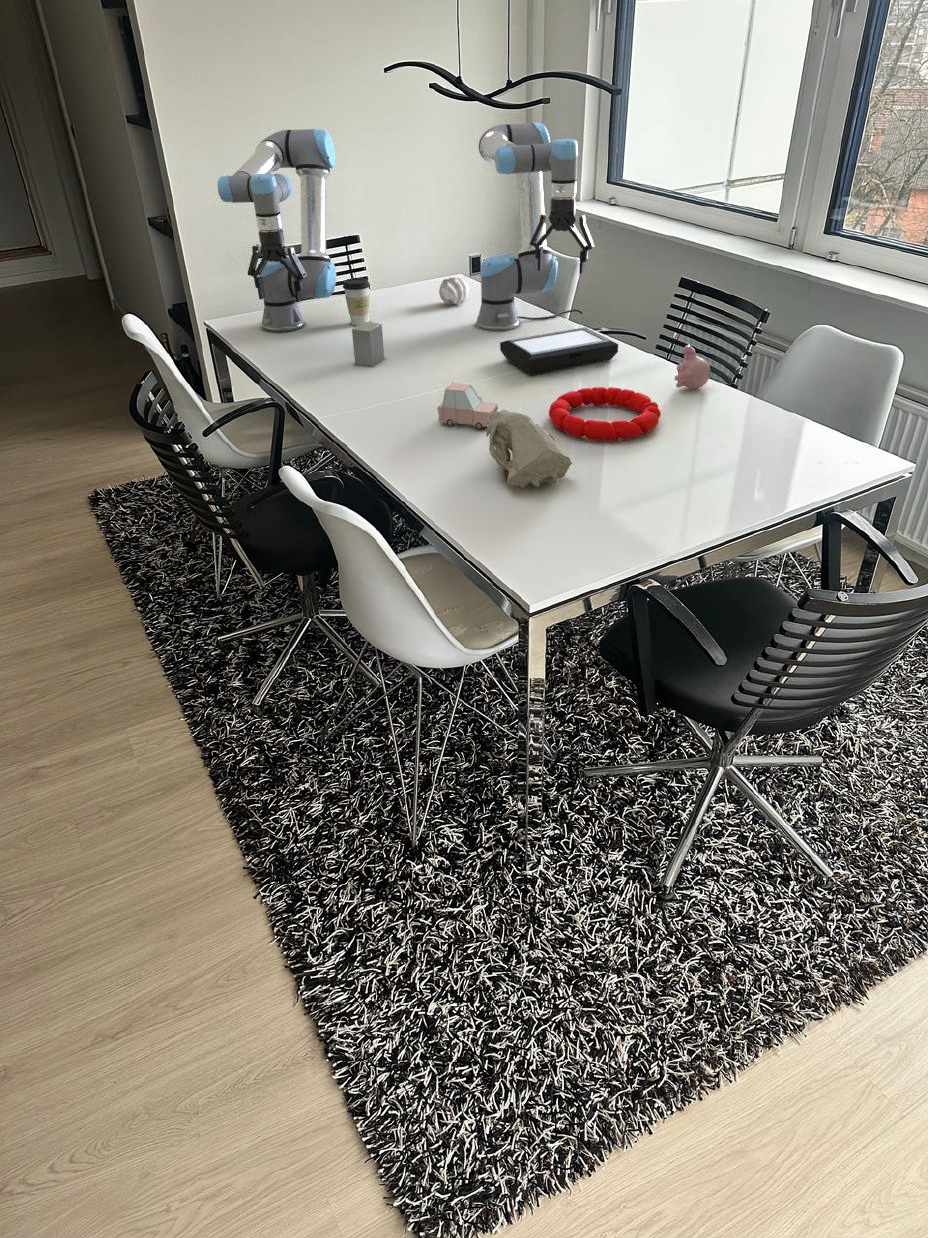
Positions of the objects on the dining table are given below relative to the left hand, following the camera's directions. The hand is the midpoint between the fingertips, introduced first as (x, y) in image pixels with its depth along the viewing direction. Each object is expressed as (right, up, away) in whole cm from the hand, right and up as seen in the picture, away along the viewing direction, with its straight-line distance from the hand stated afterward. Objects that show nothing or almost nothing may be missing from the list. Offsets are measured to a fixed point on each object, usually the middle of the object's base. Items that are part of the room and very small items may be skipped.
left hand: (280, 299), depth 287 cm
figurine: (+126, -35, -25) cm, 133 cm away
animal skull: (+73, -66, -67) cm, 120 cm away
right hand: (+90, +6, -7) cm, 90 cm away
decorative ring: (+97, -49, -44) cm, 118 cm away
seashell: (+56, +19, +57) cm, 82 cm away
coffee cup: (+21, +5, +40) cm, 45 cm away
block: (+28, -19, +4) cm, 34 cm away
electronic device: (+90, -20, 0) cm, 92 cm away
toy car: (+60, -49, -42) cm, 88 cm away
